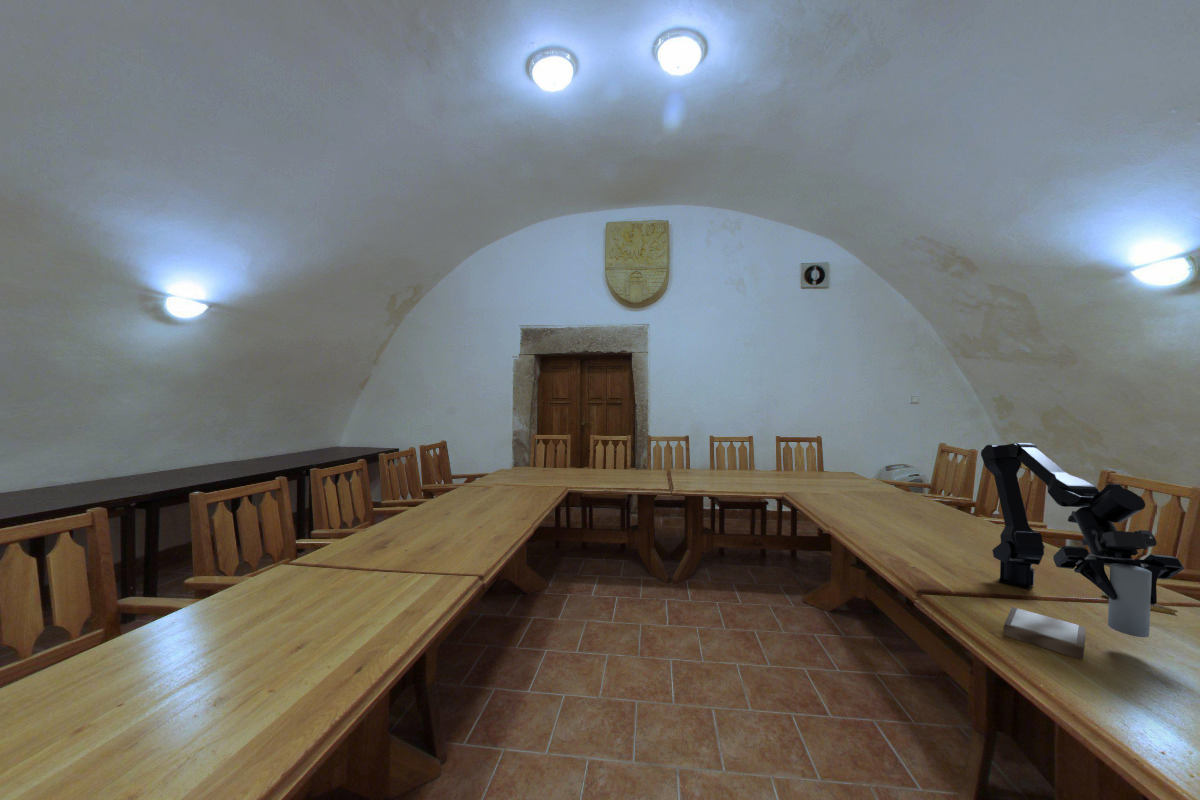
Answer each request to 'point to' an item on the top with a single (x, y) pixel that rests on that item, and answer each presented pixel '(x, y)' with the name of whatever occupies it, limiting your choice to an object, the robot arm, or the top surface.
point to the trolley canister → (1130, 600)
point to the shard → (1155, 607)
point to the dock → (1046, 632)
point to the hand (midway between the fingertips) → (1134, 601)
